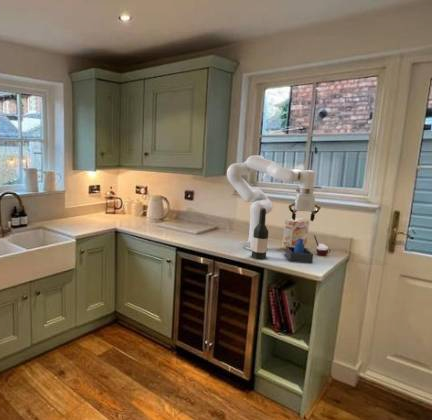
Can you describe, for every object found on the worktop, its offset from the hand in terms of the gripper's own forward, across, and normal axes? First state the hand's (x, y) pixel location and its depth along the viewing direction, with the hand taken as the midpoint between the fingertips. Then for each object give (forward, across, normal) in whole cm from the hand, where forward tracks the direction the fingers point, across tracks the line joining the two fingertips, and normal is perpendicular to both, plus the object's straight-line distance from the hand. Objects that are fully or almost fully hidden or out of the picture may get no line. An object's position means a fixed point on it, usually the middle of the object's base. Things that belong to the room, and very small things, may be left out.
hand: (302, 220), depth 212 cm
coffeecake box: (+23, +2, +22) cm, 32 cm away
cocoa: (+23, +16, +12) cm, 30 cm away
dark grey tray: (+23, -1, -1) cm, 23 cm away
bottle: (+23, -1, -1) cm, 23 cm away
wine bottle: (+23, -24, -6) cm, 34 cm away
